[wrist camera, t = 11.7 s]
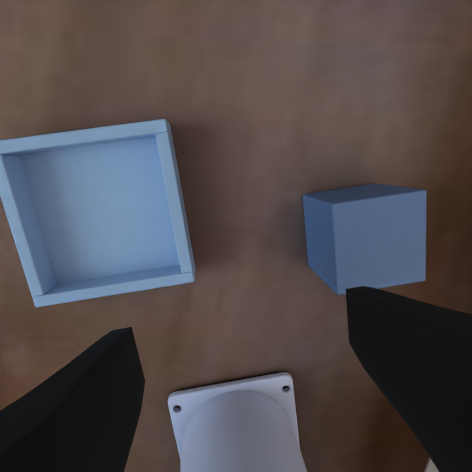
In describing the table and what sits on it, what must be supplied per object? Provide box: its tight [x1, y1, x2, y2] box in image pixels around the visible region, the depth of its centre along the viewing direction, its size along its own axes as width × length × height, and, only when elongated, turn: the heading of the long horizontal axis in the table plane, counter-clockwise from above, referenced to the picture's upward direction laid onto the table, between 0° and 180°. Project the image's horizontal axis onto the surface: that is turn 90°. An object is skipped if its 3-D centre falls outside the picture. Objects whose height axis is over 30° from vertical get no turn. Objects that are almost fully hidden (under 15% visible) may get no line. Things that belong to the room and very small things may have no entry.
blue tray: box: [0, 119, 196, 307], centre depth 16 cm, size 8×8×2 cm
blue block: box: [303, 183, 426, 295], centre depth 17 cm, size 4×4×4 cm
